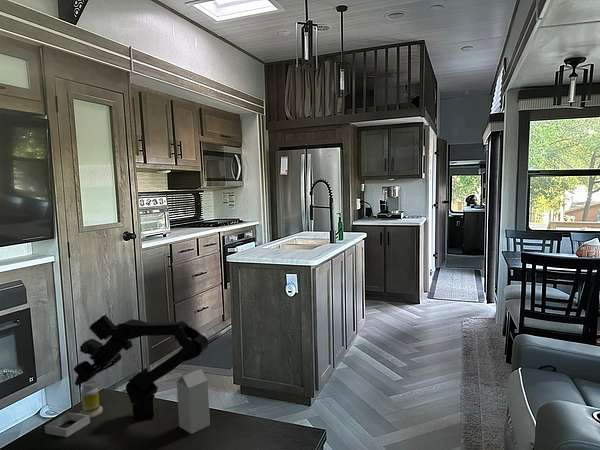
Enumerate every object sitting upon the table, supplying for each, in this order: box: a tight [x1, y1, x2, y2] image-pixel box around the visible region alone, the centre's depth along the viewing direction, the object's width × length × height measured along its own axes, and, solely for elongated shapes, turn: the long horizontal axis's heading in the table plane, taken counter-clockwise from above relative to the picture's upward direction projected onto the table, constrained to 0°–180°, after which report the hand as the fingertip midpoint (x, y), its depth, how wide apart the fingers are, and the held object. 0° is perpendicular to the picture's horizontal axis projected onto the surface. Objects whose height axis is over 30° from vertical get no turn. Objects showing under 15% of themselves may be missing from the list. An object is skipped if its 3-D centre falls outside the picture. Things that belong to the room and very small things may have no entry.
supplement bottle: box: [80, 380, 100, 414], centre depth 146 cm, size 5×5×10 cm
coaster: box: [78, 405, 104, 419], centre depth 146 cm, size 8×8×1 cm
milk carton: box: [176, 365, 211, 435], centre depth 134 cm, size 7×7×19 cm
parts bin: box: [44, 411, 91, 438], centre depth 137 cm, size 9×9×2 cm
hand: (85, 379), depth 146 cm, fingers open, 9 cm apart
